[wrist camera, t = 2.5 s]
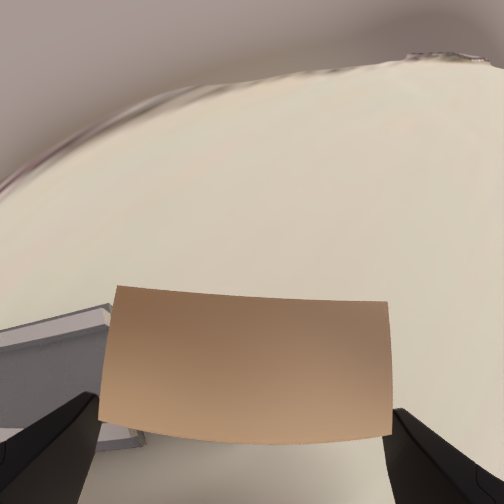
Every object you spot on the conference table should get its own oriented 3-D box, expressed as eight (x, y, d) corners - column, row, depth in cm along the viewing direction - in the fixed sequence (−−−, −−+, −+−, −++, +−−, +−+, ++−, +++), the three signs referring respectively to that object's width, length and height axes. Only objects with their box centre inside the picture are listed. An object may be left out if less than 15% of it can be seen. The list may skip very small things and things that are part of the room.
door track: (114, 307, 18) (101, 296, 16) (146, 444, 14) (134, 449, 12) (-7, 337, 16) (-25, 329, 14) (10, 449, 12) (-8, 450, 10)
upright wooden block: (293, 412, 15) (391, 434, 5) (189, 406, 15) (98, 419, 5) (294, 354, 17) (384, 277, 6) (194, 348, 17) (122, 260, 6)
